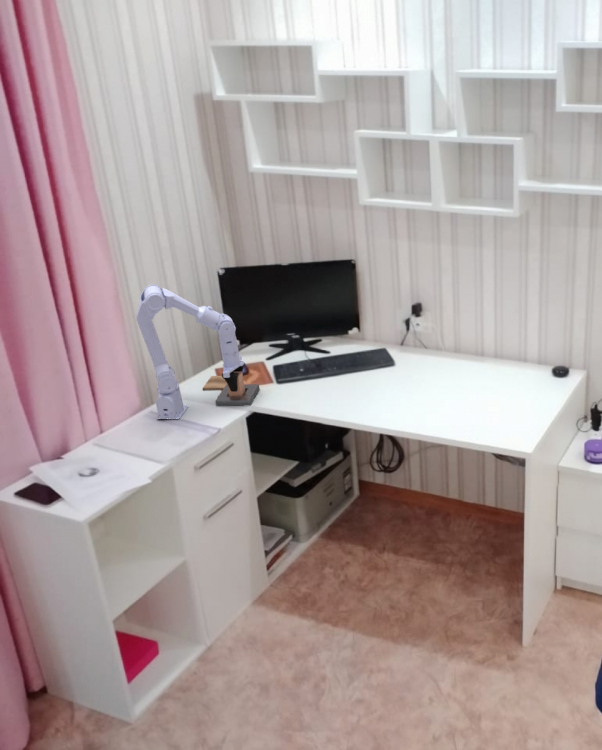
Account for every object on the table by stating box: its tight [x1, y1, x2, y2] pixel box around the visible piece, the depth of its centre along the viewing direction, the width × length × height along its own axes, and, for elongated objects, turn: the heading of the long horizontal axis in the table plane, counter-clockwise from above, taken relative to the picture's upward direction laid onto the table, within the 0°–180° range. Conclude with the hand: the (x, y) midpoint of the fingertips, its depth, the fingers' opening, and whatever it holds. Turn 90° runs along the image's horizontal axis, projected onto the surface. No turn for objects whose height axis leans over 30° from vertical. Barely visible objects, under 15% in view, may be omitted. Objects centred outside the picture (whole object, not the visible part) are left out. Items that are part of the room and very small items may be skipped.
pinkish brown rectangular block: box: [227, 371, 246, 397], centre depth 296 cm, size 4×4×8 cm
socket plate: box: [215, 383, 261, 407], centre depth 298 cm, size 12×12×2 cm
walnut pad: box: [202, 375, 227, 391], centre depth 311 cm, size 10×10×1 cm
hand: (236, 387), depth 297 cm, fingers closed on pinkish brown rectangular block, 4 cm apart
